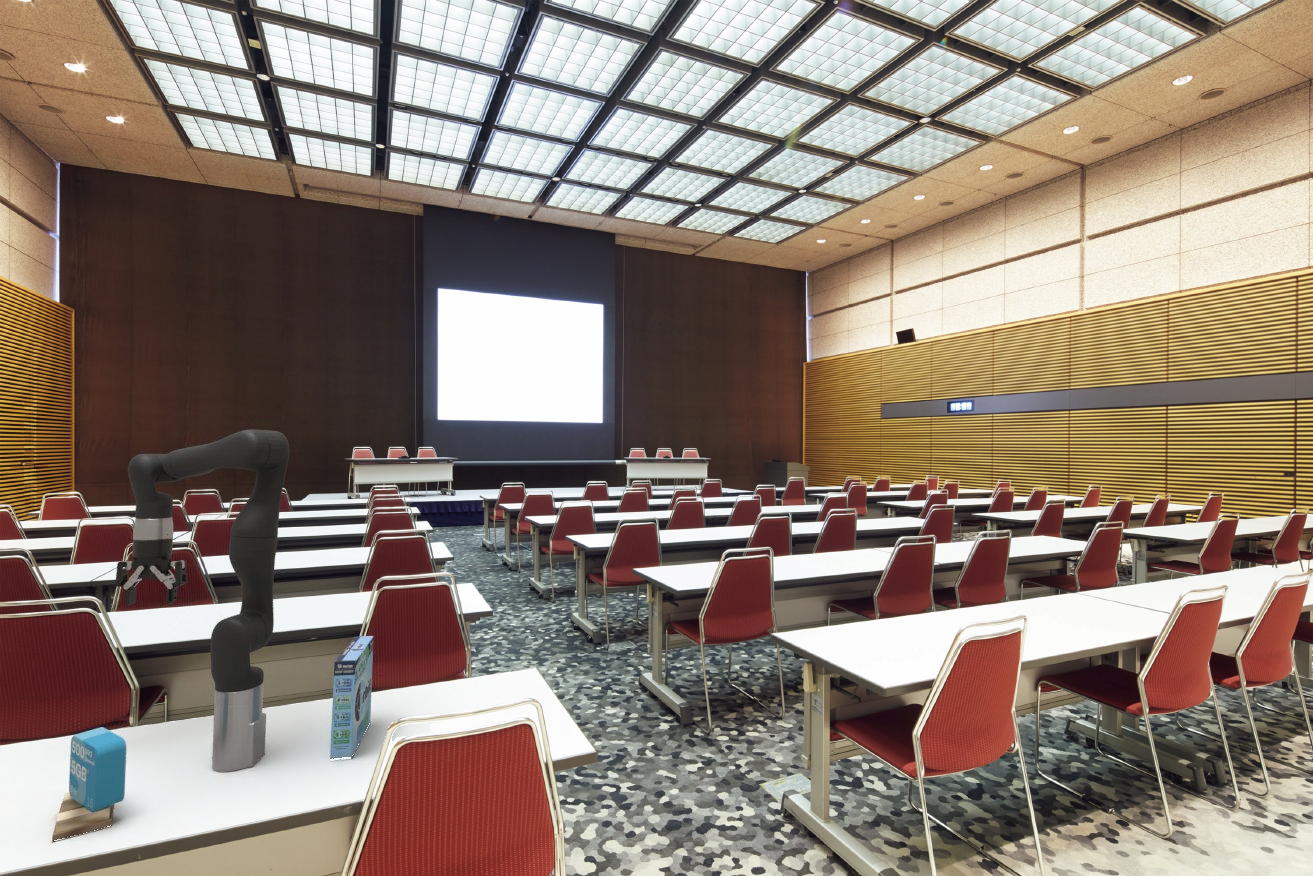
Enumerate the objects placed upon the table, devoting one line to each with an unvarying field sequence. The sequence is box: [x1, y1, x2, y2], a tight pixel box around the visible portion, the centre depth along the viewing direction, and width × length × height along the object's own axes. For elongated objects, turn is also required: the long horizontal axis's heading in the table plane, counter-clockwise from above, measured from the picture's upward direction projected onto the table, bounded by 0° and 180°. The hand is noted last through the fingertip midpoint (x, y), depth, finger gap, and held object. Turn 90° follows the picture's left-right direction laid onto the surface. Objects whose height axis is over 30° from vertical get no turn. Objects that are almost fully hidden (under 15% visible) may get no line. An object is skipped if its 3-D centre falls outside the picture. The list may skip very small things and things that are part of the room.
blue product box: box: [329, 635, 375, 760], centre depth 153 cm, size 20×5×23 cm, turn 13°
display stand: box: [51, 792, 115, 842], centre depth 120 cm, size 8×13×3 cm, turn 38°
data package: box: [68, 726, 127, 812], centre depth 121 cm, size 12×4×12 cm, turn 60°
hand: (150, 604), depth 151 cm, fingers open, 8 cm apart
